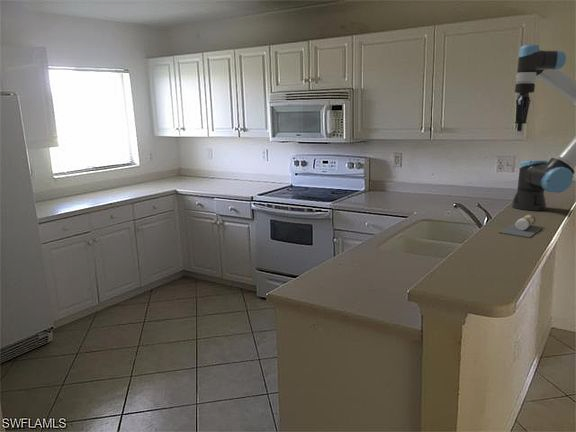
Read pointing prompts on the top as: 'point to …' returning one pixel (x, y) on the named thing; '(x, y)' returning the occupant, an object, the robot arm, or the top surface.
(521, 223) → the sprinkles bottle
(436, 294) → the top surface
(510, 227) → the mat
